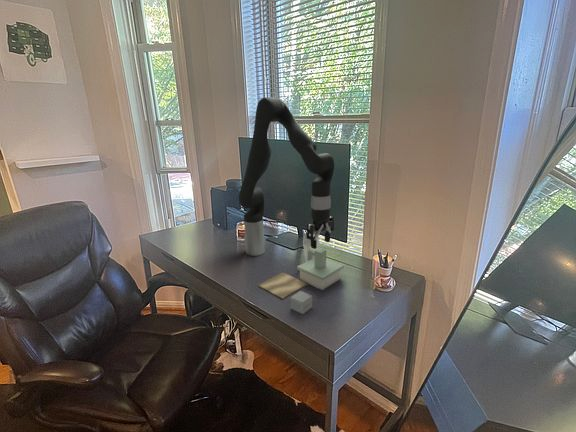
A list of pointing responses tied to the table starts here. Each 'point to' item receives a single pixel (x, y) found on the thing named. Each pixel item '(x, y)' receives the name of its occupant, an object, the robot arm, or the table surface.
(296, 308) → the small box
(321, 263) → the lid
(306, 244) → the beer glass
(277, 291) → the mat
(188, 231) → the table surface
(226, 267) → the table surface
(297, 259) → the table surface
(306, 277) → the open square box
